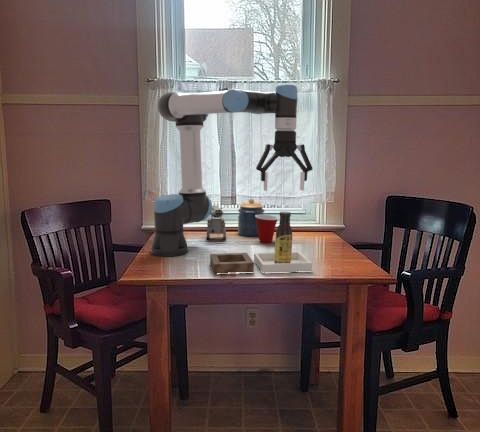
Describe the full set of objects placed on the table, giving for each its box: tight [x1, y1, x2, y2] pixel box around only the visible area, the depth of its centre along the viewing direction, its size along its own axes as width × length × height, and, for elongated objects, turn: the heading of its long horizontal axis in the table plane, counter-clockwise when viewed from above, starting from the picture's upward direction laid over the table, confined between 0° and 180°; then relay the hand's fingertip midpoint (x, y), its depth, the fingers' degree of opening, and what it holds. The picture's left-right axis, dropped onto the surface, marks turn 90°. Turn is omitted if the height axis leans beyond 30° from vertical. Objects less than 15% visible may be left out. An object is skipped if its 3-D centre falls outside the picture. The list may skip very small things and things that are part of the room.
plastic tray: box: [253, 251, 313, 273], centre depth 170 cm, size 18×16×4 cm
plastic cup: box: [255, 214, 280, 244], centre depth 208 cm, size 11×11×12 cm
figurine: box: [205, 205, 227, 241], centre depth 213 cm, size 9×12×15 cm
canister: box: [237, 198, 265, 237], centre depth 224 cm, size 13×13×18 cm
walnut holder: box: [209, 252, 255, 275], centre depth 167 cm, size 14×14×4 cm
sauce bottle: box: [274, 210, 293, 264], centre depth 168 cm, size 6×6×20 cm
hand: (283, 190), depth 165 cm, fingers open, 13 cm apart
